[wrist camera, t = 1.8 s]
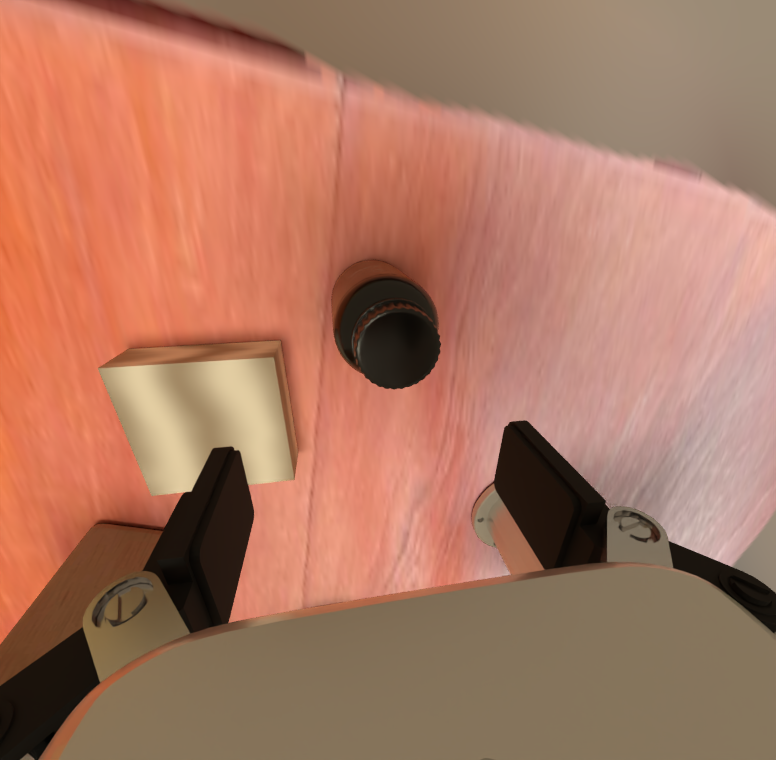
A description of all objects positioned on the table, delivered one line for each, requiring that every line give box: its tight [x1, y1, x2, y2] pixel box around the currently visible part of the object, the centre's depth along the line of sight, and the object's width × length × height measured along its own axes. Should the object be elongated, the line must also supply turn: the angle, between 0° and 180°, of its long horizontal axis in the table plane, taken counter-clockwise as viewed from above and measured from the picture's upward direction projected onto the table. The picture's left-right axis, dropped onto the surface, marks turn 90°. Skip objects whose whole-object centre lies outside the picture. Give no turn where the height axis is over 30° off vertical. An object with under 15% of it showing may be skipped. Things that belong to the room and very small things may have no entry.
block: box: [0, 524, 163, 686], centre depth 28 cm, size 10×10×20 cm
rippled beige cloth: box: [98, 340, 298, 496], centre depth 29 cm, size 12×12×4 cm
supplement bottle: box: [331, 260, 441, 389], centre depth 23 cm, size 7×7×12 cm
